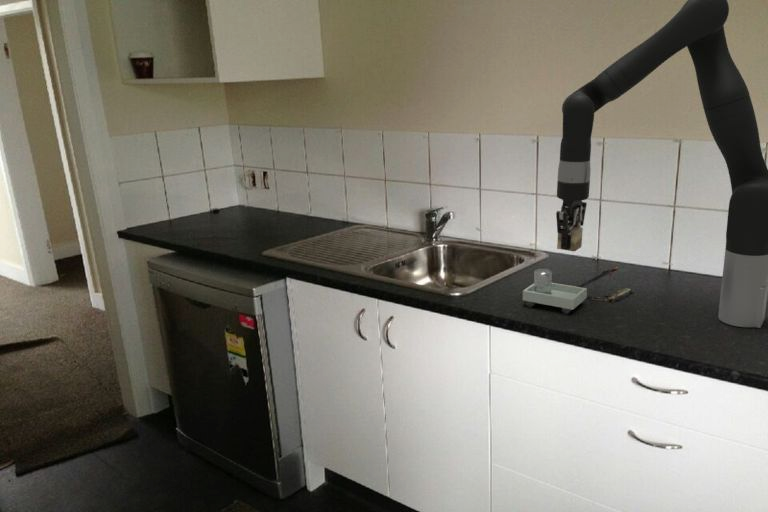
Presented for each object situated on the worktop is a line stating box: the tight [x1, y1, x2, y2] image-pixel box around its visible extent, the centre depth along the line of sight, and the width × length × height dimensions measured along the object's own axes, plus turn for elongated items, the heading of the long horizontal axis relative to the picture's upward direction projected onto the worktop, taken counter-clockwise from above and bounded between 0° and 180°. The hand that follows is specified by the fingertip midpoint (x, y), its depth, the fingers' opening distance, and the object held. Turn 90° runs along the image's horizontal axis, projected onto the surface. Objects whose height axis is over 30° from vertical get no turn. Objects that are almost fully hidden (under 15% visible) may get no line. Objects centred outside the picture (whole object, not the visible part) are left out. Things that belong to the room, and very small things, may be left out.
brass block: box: [556, 226, 584, 252], centre depth 159 cm, size 4×4×5 cm
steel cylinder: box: [533, 268, 553, 295], centre depth 167 cm, size 4×4×6 cm
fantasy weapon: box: [576, 266, 635, 304], centre depth 179 cm, size 29×2×15 cm
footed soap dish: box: [522, 282, 588, 315], centre depth 166 cm, size 13×9×4 cm
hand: (569, 246), depth 160 cm, fingers closed on brass block, 4 cm apart
